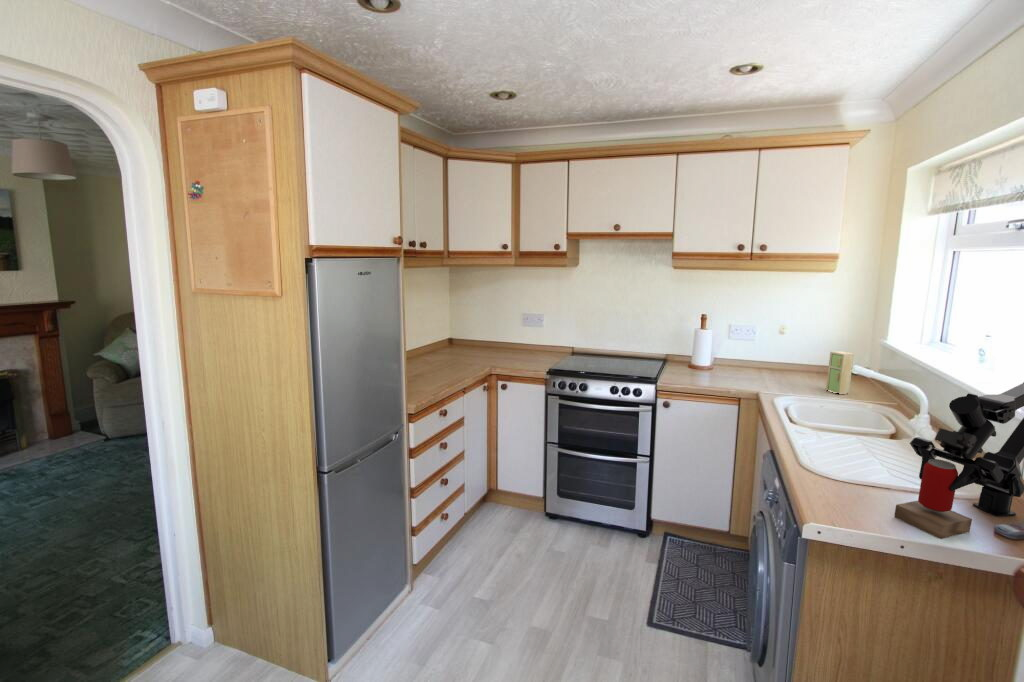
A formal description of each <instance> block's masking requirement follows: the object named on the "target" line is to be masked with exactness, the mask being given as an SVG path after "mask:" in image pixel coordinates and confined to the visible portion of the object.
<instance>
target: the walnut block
mask: <svg viewBox="0 0 1024 682" xmlns="http://www.w3.org/2000/svg"><path fill="white" fill-rule="evenodd" d="M893 515H894V516H893V517H894V518H896V519H897V518H898V519H897V520H899V519H900V521H901V520H902V521H901V522H903V521H904V523H905V524H908V525H910V526H912V527H914V528H916V529H918V530H920V531H922V532H924V533H926V534H929V535H931V536H933V537H935V538H938V539H939V538H940V539H946V538H950V536H951V537H954V536H958V535H963V534H968V533H970V532H971V526H972V521H973V519H972V518H970V517H968V516H966V515H963V514H961V513H958V512H956V511H953V510H952V509H951V510H950V511H946V512H937V511H933V510H930V509H927V508H925V507H924V506H923V505H922V504H920V503H919V501H918V500H915V501H908V502H903V503H898V504H896V505H895V510H894V514H893ZM967 532H968V533H967ZM962 533H963V534H962ZM940 539H939V540H940Z"/></svg>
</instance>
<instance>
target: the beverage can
mask: <svg viewBox="0 0 1024 682" xmlns="http://www.w3.org/2000/svg"><path fill="white" fill-rule="evenodd" d="M958 475H959V471H958V469H957V467H956V464H954V463H952V462H951V461H947V460H945V459H944V460H943V459H938V458H935V459H930V460H929V461H928V462H927V463H926V464H925V465H924V469H923V474H922V479H920V486H919V493H918V498H917V501H919V503H920V504H922V505H923V506H924V507H925V508H927V509H930V510H933V511H937V512H946V511H950V510H952V508H953V504H954V499H955V496H956V495H955V494H956V490H954V491H950V489H949V487H950V486H951V484H952V483H953V481H954V480H955V479H956V478H957V477H958Z"/></svg>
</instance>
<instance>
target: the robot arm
mask: <svg viewBox="0 0 1024 682" xmlns="http://www.w3.org/2000/svg"><path fill="white" fill-rule="evenodd" d="M948 405H949V406H948V407H949V409H950V411H951V413H952V415H953V416H954V418H955V420H956V422H957V424H959V425H960V428H959V429H958V430H953V431H952V430H948V429H945V428H943V427H942V428H938V430H937V433H936V434H935V437H934V440H935V441H938V442H940V443H939V445H940V447H941V448H943V449H941V448H938V447H936V446H935V444H934V443H933V441H931V440H928V439H925V438H922V437H914V438H912V440H911V441H910V442H909V444H910V446H911V447H912V449H913V450H914V453H915V454H916V455H917V456H919V457H921V465H920V469H919V473H918V477H919V479H920V480H922V474H923V469H924V465H925V464H926V463H927V462H928V461H929V460H930V459H937V457H939V458H941V459H944V460H946V461H947V460H948V461H949V462H954V463H956V464H959V465H963V467H962V470H961V471H960V473H958V477H957V478H956V479H955V480H954V481H953V483H952V484H951V486H950V487H949V489H950V491H954V490H955V491H956V490H959V489H961V488H963V487H965V486H968V485H973V484H975V485H979V486H982V487H981V491H980V493H979V498H978V502H973V503H972V506H974V507H976V508H978V509H980V510H983V511H985V512H986V513H989V514H991V515H993V516H995V517H1006V516H1017V513H1016V512H1014V511H1012V510H1011V508H1012V502H1013V498H1014V497H1016V498H1021V497H1022V495H1023V493H1024V483H1023V481H1022V480H1021V477H1022V470H1021V465H1020V464H1021V462H1022V461H1023V459H1024V417H1023V418H1022V419H1021V421H1019V423H1018V424H1017V426H1016V427H1015V429H1014V430H1013V431H1012V432H1011V434H1010V436H1009V437H1008V438H1007V439H1006V440H1005V442H1004V443H1003V445H1002V446H1001V447H1000V448H999V450H998V451H997V452H990V451H988V452H985V453H984V454H983V457H982V456H978V457H976V455H977V454H982V453H983V451H984V449H983V446H984V445H985V443H986V442H987V441H988V440H989V438H990V437H995V438H996V436H997V431H996V426H995V425H994V424H993V422H994V423H995V422H996V423H997V424H1003V425H1004V424H1007V423H1008V422H1010V421H1011V420H1013V419H1014V418H1015V417H1016V411H1018V410H1020V409H1021V408H1023V407H1024V381H1023V382H1022V383H1020V384H1018V385H1017V386H1014V387H1013V388H1010V389H1008V390H1005V391H1003V392H1002V393H999V394H985V395H978V394H974V393H967V394H966V396H959V397H956V398H954V399H952V400H951V401H950V402H949V404H948ZM975 457H976V458H975ZM974 458H975V459H974Z"/></svg>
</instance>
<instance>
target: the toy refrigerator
mask: <svg viewBox="0 0 1024 682" xmlns="http://www.w3.org/2000/svg"><path fill="white" fill-rule="evenodd" d="M854 356H855V355H854V353H852V352H848V351H842V350H832V351H831V350H830V352H829V360H828V361H829V362H828V369H827V370H828V371H827V377H826V378H827V379H826V386H825V387H826V388H825V390H826V389H827V390H831V391H833V392H837V393H846V392H849V393H850V388H851V386H850V385H851V379H852V372H851V368H852V369H853V363H854Z"/></svg>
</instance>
